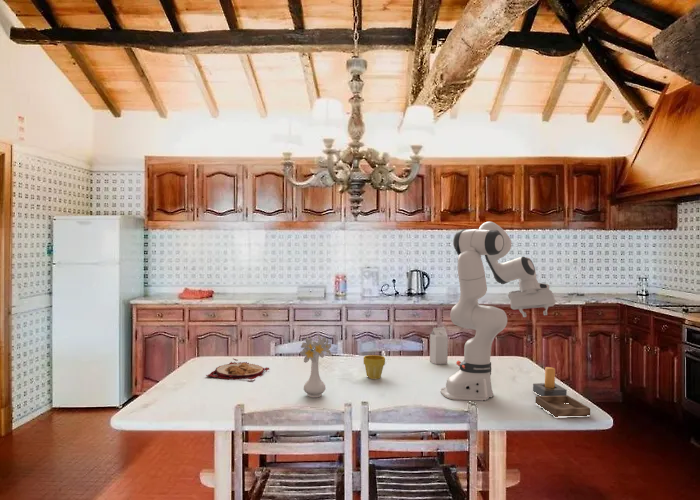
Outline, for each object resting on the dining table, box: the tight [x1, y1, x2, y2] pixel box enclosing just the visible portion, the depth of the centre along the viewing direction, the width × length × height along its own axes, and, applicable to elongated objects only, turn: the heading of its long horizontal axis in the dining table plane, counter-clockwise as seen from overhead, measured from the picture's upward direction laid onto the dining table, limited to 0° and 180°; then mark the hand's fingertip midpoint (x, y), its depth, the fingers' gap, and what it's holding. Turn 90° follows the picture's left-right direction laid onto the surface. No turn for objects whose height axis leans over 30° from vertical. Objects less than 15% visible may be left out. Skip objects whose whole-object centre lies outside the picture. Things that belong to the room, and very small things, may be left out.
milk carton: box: [429, 327, 449, 365], centre depth 281 cm, size 7×7×19 cm
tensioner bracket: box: [532, 382, 568, 396], centre depth 225 cm, size 10×10×4 cm
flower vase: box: [299, 334, 332, 399], centre depth 220 cm, size 13×18×25 cm
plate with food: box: [205, 357, 270, 382], centre depth 256 cm, size 25×26×4 cm
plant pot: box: [363, 354, 386, 380], centre depth 251 cm, size 10×10×10 cm
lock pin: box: [544, 366, 556, 388], centre depth 225 cm, size 4×4×12 cm
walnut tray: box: [534, 395, 591, 417], centre depth 206 cm, size 14×16×4 cm
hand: (535, 315), depth 244 cm, fingers open, 8 cm apart
